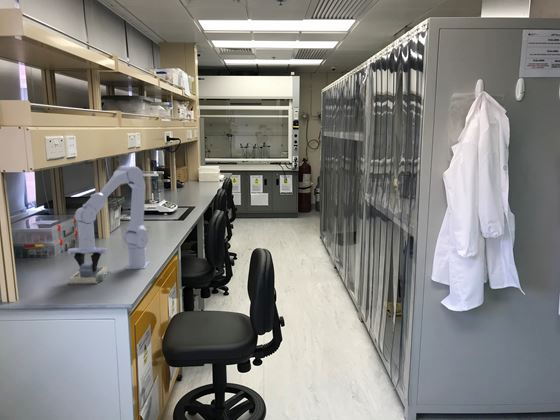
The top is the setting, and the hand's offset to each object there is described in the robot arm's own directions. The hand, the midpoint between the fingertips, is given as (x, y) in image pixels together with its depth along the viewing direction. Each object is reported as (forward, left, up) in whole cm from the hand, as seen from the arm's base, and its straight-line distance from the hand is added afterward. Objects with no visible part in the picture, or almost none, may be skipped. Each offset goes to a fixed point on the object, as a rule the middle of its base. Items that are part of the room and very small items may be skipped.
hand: (88, 271), depth 176 cm
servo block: (0, 0, -2) cm, 2 cm away
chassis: (0, 0, -3) cm, 3 cm away
